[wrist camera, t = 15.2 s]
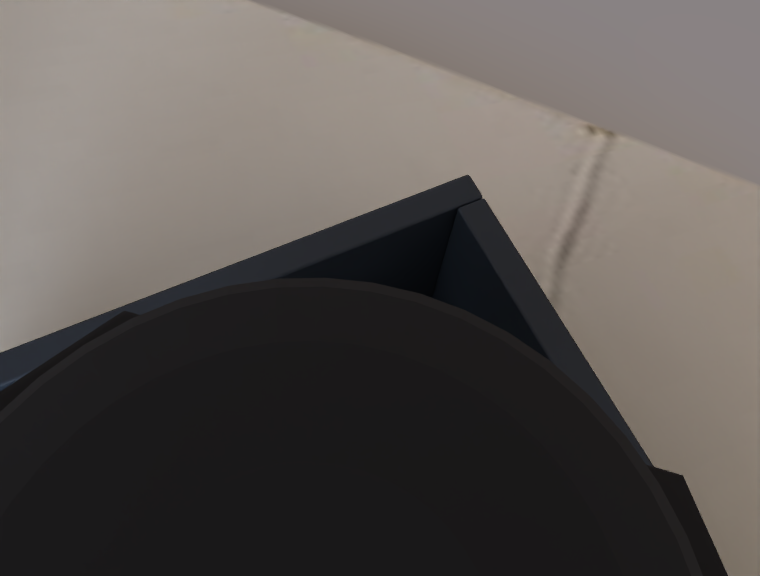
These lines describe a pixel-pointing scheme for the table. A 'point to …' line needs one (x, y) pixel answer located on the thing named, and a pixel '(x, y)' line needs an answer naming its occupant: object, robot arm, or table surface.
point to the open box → (392, 279)
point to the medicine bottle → (322, 449)
